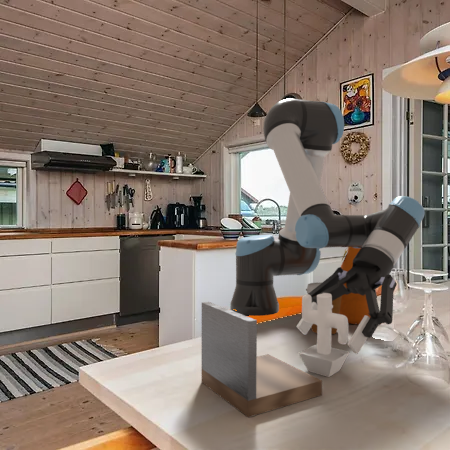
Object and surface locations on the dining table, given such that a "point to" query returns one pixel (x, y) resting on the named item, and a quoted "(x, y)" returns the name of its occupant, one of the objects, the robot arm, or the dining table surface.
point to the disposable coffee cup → (335, 303)
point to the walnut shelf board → (269, 387)
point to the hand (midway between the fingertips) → (324, 339)
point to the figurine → (324, 336)
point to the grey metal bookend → (230, 348)
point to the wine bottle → (352, 294)
